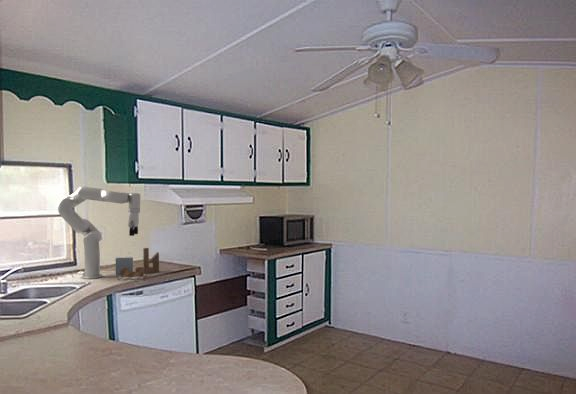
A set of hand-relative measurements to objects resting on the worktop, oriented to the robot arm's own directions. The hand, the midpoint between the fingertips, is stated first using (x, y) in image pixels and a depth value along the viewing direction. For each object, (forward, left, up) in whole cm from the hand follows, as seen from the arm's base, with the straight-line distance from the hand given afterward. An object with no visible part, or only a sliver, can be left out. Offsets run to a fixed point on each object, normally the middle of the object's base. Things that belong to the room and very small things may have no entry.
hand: (133, 234), depth 292 cm
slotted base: (+1, -9, -28) cm, 30 cm away
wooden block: (+10, +8, -29) cm, 31 cm away
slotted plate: (-7, +2, -28) cm, 29 cm away
